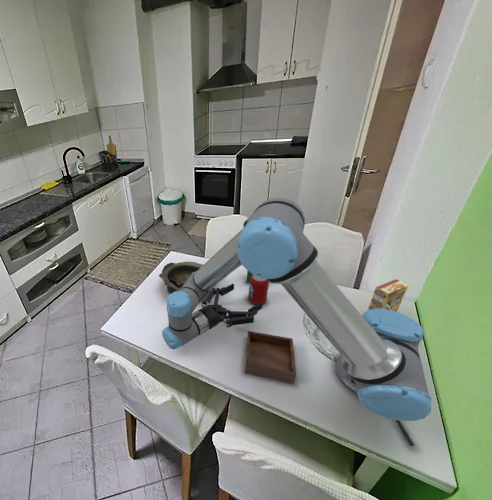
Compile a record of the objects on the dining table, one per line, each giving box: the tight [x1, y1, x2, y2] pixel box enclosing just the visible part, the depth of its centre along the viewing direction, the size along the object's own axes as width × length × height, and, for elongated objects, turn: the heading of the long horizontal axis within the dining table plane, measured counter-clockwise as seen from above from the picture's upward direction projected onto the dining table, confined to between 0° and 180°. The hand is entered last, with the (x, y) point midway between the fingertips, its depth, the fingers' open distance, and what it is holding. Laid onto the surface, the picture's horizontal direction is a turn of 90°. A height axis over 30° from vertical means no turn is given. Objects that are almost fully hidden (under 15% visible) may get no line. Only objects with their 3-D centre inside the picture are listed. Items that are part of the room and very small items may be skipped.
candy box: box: [366, 278, 410, 312], centre depth 92 cm, size 9×4×15 cm, turn 110°
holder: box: [244, 330, 297, 385], centre depth 87 cm, size 14×14×4 cm
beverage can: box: [248, 274, 270, 305], centre depth 109 cm, size 7×7×12 cm
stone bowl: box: [158, 261, 218, 295], centre depth 121 cm, size 25×25×9 cm
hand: (246, 295), depth 105 cm, fingers open, 13 cm apart
